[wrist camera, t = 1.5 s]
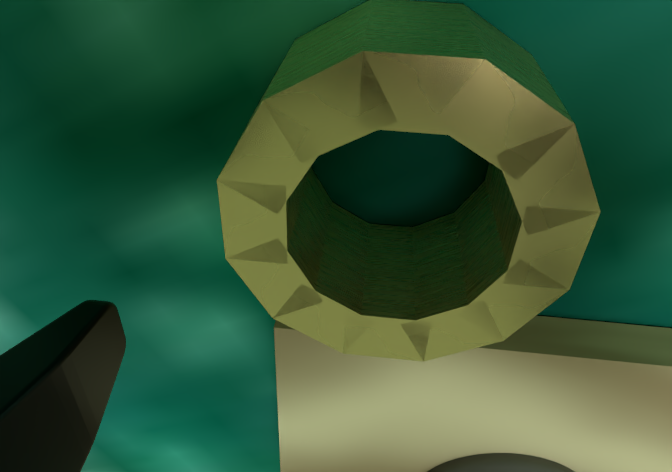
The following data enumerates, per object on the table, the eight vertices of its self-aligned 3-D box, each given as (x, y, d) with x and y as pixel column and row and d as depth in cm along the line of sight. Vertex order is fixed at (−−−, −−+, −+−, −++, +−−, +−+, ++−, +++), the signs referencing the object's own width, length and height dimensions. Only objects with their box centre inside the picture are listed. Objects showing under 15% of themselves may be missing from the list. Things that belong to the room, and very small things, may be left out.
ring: (510, 273, 15) (536, 372, 12) (264, 251, 15) (235, 342, 13) (590, 11, 11) (657, 70, 8) (250, -10, 11) (200, 39, 8)
